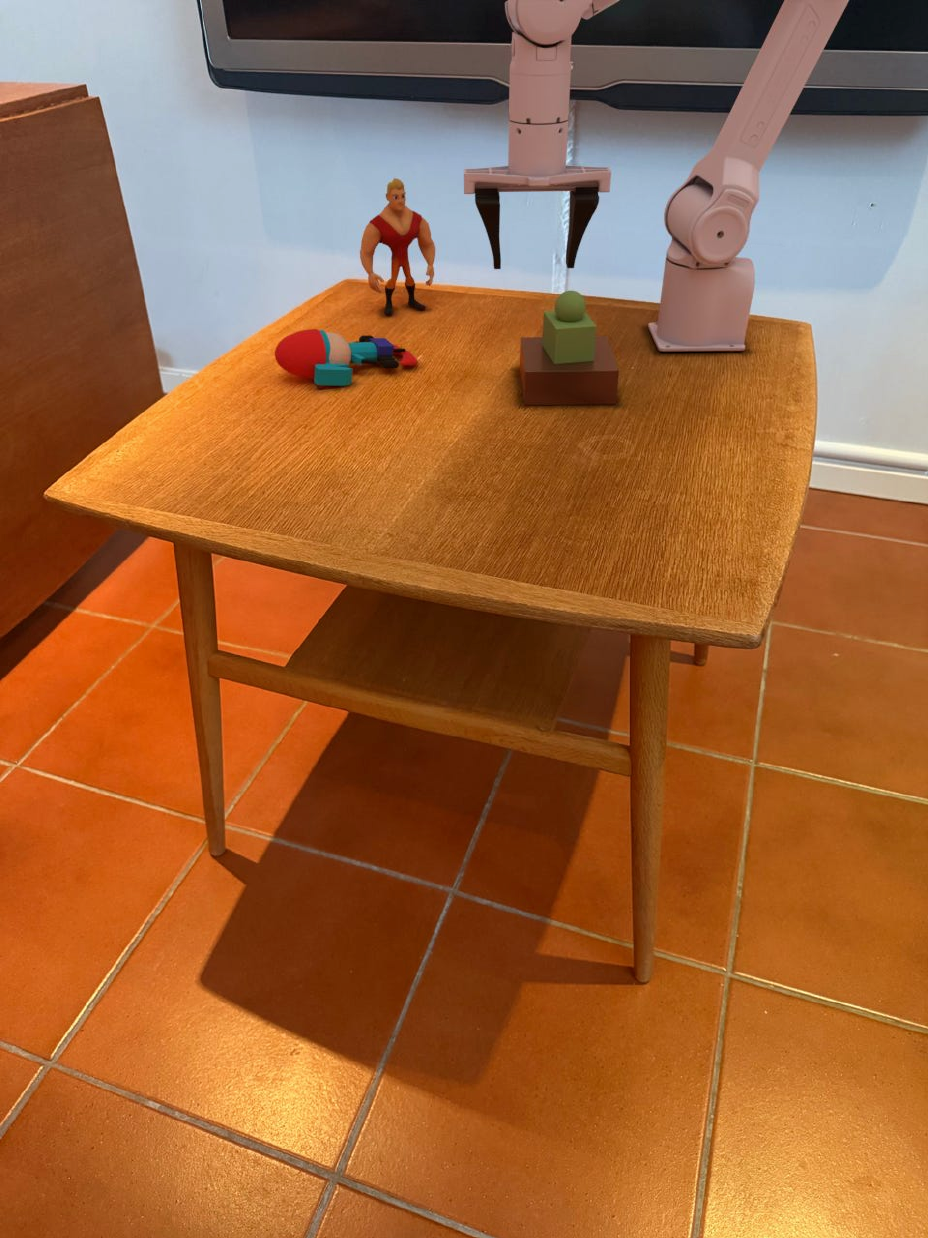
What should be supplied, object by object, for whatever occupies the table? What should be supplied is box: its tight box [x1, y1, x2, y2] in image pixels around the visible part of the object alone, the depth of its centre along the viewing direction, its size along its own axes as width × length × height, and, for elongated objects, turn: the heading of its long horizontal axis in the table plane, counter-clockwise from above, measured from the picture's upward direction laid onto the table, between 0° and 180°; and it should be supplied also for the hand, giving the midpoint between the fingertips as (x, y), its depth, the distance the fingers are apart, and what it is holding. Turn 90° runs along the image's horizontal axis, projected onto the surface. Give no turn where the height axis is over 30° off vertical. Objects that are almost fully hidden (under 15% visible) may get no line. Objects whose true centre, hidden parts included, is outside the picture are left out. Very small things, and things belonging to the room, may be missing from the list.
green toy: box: [542, 290, 598, 364], centre depth 86 cm, size 4×5×6 cm
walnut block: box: [519, 336, 620, 406], centre depth 89 cm, size 9×9×4 cm
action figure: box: [359, 177, 436, 316], centre depth 104 cm, size 10×4×15 cm, turn 114°
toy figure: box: [274, 328, 419, 387], centre depth 93 cm, size 8×5×15 cm
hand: (533, 265), depth 93 cm, fingers open, 7 cm apart
